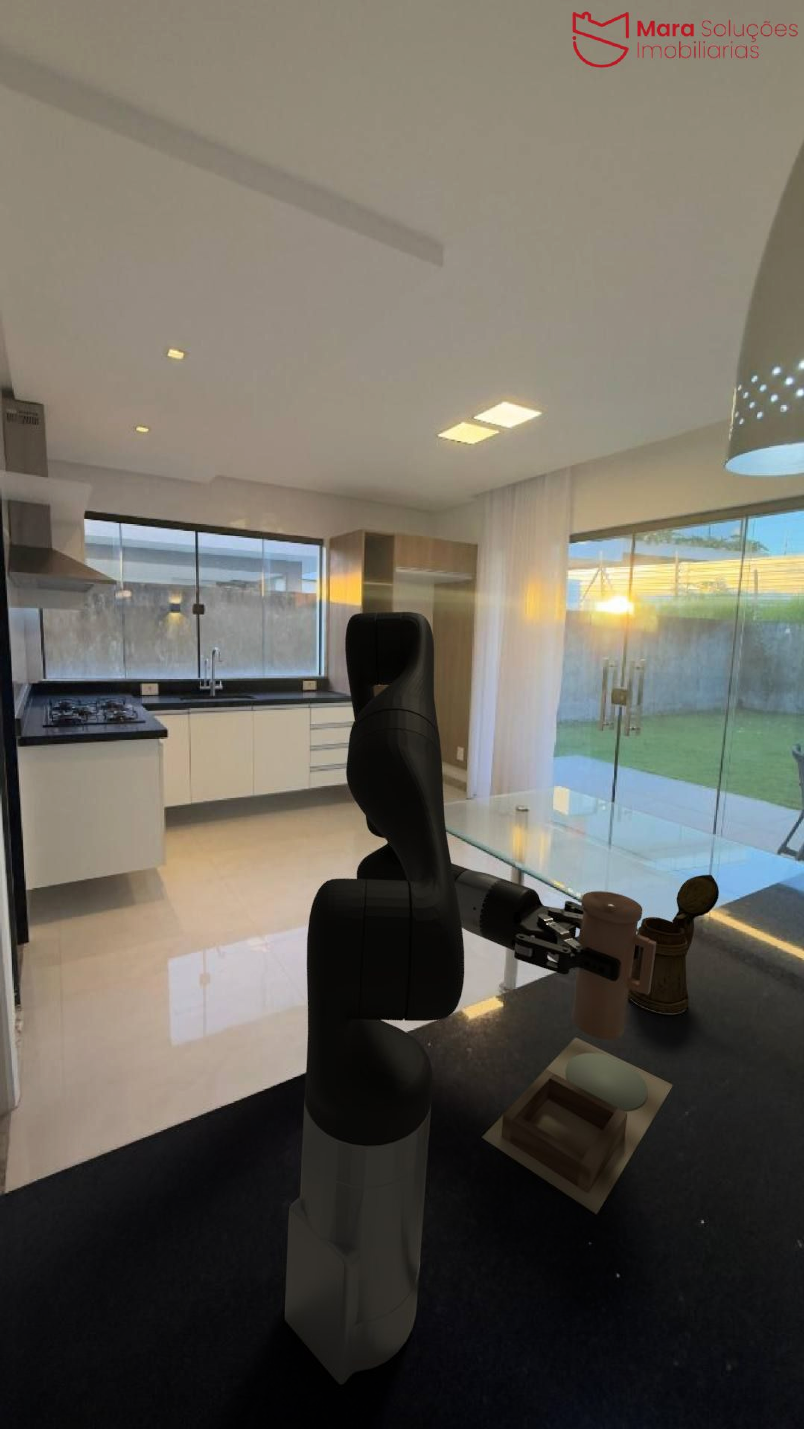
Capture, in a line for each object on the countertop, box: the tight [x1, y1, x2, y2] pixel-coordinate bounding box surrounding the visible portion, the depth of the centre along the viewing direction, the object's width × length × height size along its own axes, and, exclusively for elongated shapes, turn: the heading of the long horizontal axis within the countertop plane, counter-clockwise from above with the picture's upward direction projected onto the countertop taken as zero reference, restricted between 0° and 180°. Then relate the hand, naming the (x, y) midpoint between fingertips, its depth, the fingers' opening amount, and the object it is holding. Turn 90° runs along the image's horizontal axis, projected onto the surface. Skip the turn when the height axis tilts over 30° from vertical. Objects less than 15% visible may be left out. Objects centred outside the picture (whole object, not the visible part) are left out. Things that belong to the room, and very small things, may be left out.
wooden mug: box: [629, 874, 720, 1013], centre depth 90 cm, size 9×14×18 cm, turn 114°
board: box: [481, 1037, 674, 1215], centre depth 66 cm, size 22×12×4 cm, turn 140°
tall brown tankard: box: [571, 890, 657, 1040], centre depth 66 cm, size 6×8×14 cm
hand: (629, 960), depth 65 cm, fingers closed on tall brown tankard, 5 cm apart
